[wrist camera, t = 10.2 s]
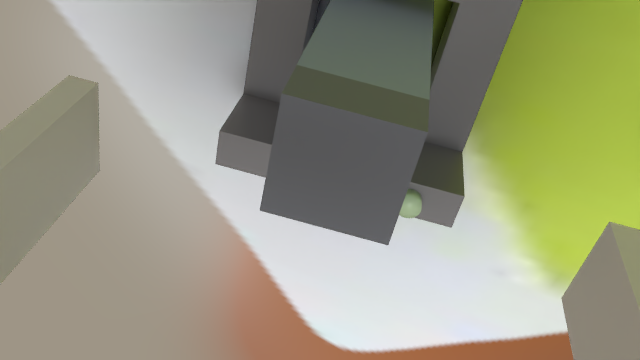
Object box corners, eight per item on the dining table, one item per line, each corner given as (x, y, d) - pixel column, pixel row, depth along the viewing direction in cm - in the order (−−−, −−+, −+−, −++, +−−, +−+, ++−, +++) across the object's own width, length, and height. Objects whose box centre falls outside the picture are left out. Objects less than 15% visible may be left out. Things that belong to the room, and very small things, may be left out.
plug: (343, -25, 26) (281, 93, 16) (434, -1, 26) (427, 132, 16) (324, 61, 28) (259, 210, 18) (408, 83, 28) (388, 245, 18)
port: (287, -118, 24) (242, -89, 19) (530, -55, 24) (556, -9, 19) (253, 101, 30) (210, 171, 25) (450, 153, 30) (451, 236, 24)
